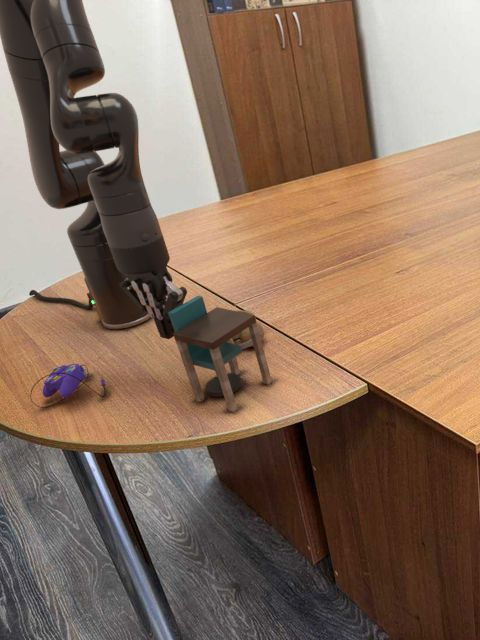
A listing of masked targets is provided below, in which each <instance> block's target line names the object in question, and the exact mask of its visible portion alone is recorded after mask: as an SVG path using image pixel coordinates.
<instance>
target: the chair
mask: <svg viewBox="0 0 480 640" xmlns="http://www.w3.org/2000/svg"><path fill="white" fill-rule="evenodd" d="M206 313H208V311H207V308H206V304H205V300H204V297H203V296H202V295H196V296H195V297H192V298H191V299H189V300H187V301H186V302H183V304H182V305H180V306H179V307H177V308H175V309H173V310H172V311H170V312H168V314H169V317H170V320H171V323H172V325H173V328H174V331H175V332H176V331H178V330H180V329H181V328H183V327H185V326H186V325H188V324H190V323H191V322H193V321H195V320H196V319H198V318H200V317H201V316H203V315H205V314H206ZM186 344H187V347H188V350H189V353H190V356H191V359H192V362H193V365H194V366H197V367H201V368H204V369H207V370H211V371H214V372H215V375H216V376H214V377H213V378H211V379H209V380H208V381H207V382H206V384H205V391H206V393H207V395H209V396H210V397H214V398H220V397H224V394H223V391H222V388H221V385H220V382H219V379H218V375H217V372H216V369H215V366H214V363H213V360H212V356H211V353H210V350H209V349H208V348H204V347H200V346H196V345H193V344H189V343H186ZM219 349H220V353H221V356H222V359H223V363H224V365H226V363H228V361H230V360H231V359H233V358H234V357H235V356H236V357H237V356H238V355H240V354H242V353H243V349H242V348H241V345H237V344H233V343H229V342H225V343H224V344H222V345H221V346H219ZM227 376H228V379H229V382H230V385H231V389H232V392H233V394H234V393H235V392H237V391H239V389H240V388H241V387H242V385H243V381H242V378H241V376H240V375H236V374H232V373H227Z"/></svg>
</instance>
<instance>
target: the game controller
mask: <svg viewBox="0 0 480 640" xmlns="http://www.w3.org/2000/svg"><path fill="white" fill-rule="evenodd" d="M84 367H85V368H84ZM50 370H51V372H50V374H48V375H45V376H43V377H42V378H40V379H39V380H37V381H36V383H35V384H34V385H33V386H32V388H31V390H30V400H31V403H32V404H33V405H35V406H36V407H38V408H43V409H45V408H50V407H52V406H55V405H57V404H59V403H60V402H62V401H64V400H65V399H66V398H69V397H71V396H72V395H73V394H74V393H75V392H76V391H77V390H78V389H79V388H80V387H82V386H83V385H85V386H86V387H88V388H89V389H90V390H92V392H94V393H95V394H96V395H97V396H99V397H101V398H105V396H106V394H104V395H100V394H99V393H98V392H97V391H95V390H94V389H93V388H92V387H90V385H88V384H87V383H86V382H87V381H88V379H89V369H88V367H87V366H86V365H85V364H80V365H79V363H71V364H67V365H66V364H64V365H60V366H59V367H58V365H54V366H52V367H51V369H50ZM46 377H47V378H46ZM44 378H46V379H45V380H44V381H43V384H44V385H43V387H42V396H43V397H44V398H50V397H52V396H54V395H55V394H56V393H57V392H58V391H59V395H60V397H61V398H62V399H61V400H59V401H57V402H55V403H53V404H51V405H48V406H40V405H37V404H35V402H34V401H33V399H32V392H33V390H34V388H35V387H36V385H37V384H38V383H39V382H40V381H41V380H43V379H44ZM100 383H101V387H103V392H104V393H106V387H105V386H106V382H105V378H104V377H103V376H101V377H100Z"/></svg>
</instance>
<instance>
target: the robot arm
mask: <svg viewBox="0 0 480 640" xmlns="http://www.w3.org/2000/svg"><path fill="white" fill-rule="evenodd" d="M87 15H88V14H87V12H86V9H85V5H84V1H83V0H0V42H1V46H2V50H3V55H4V57H5V62H6V64H7V69H8V72H9V75H10V78H11V81H12V85H13V88H14V92H15V95H16V98H17V102H18V105H19V110H20V114H21V118H22V122H23V127H24V132H25V138H26V144H27V149H28V151H27V152H28V157H29V162H30V167H31V172H32V177H33V181H34V183H35V186H36V189H37V191H38V193H39V195H40V196H41V198H42V200H43V201H44V202H45V203H46V204H47V205H48V206H49V207H50V208H52V209H55V210H64V209H70V208H74V207H78V206H80V205H83V204H87V205H86V207H85V209H84V211H83V212H82V213H81V214H80V215H79V216H78V217H77V218H76V219H75V220H73V222H71V223H70V224H69V225H68V227H67V229H66V234H67V237H68V239H69V242H70V244H71V246H72V249H73V251H74V254H75V256H76V259H77V261H78V263H79V266H80V269H81V271H82V273H83V277H84V278H83V280H84V283H85V285H86V288H87V290H88V292H87V293H86V296H87V298H88V304H84V303H82V302H80V301H78V300H75V299H72V298H68V297H67V298H66V297H51V296H45V295H43V294H40V293H39V292H38V291H37V290H35V289H31V290H29V294H28V295H29V297H32V296H35V297H36V298H37V299H39V300H41V301H45V302H54V303H55V302H56V303H57V302H58V303H67V304H72V305H75V306H76V307H79V308H81V309H84V310H91V309H93V308H95V310H96V312H97V315H98V317H99V320H100V321H101V323H102V325H103V327H105V328H106V329H109V330H110V329H111V330H122V329H128V328H132V327H135V326H138V325H141V324H142V323H144V322H147V321H148V320H149V319H153V321H154V324H155V326H156V329H157V332H158V334H159V337H160V338H162V339H166V340H171V339H172V338H174V335H173V333H175V331H174V328H173V325H172V323H171V320H170V317H169V314H168V312H170V311H172V310H173V309H175V308H177V307H179V306H180V305H182V304H184V303H185V299H186V297H187V294H188V290H187V289H186V287H185V286H180V287H178V286H177V285H176V284H175V283H173V278H172V275H171V274H170V272H169V271H168V267H167V266H168V264H169V262H170V259H171V257H170V253H169V250H168V246H167V244H166V240H165V237H164V235H163V232H162V229H161V225H160V222H159V219H158V216H157V214H156V212H155V210H154V208H153V206H152V203H151V201H150V197H149V194H148V192H147V188H146V184H145V181H144V178H143V175H142V169H141V164H140V154H139V153H140V151H139V150H140V149H139V140H140V139H139V138H140V137H139V130H140V129H139V119H138V114H137V111H136V109H135V107H134V106H133V104H132V103H131V102H130V100H129V99H128V98H126V97H125V96H124V95H122V94H121V93H118V92H107V93H106V92H105V93H100V94H92V95H84V96H78V97H75V96H76V95H77V94H78V93H79V92H80V91H83V90H84V89H87V88H90V87H92V86H94V85H96V84H98V83H100V82H101V81H102V80H103V79H104V77H105V73H106V69H105V64H104V62H103V58H102V56H101V53H100V50H99V47H98V45H97V42H96V39H95V35H94V32H93V30H92V28H91V24H90V22H89V18H88V16H87ZM60 147H62V148H63V149H64V150H60ZM117 148H118V153H117V155H116V157H115V158H114V159H113V160H112V161H110V162H108V163H106V164H105V162H104V161H103V159H102V157H101V156H100V154H98V152H100V151H106V150H112V149H117Z"/></svg>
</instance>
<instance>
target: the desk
mask: <svg viewBox="0 0 480 640" xmlns="http://www.w3.org/2000/svg"><path fill="white" fill-rule="evenodd" d="M237 311H238V310H232V309H228V308H227V309H226V308H222V307H219V306H216V307H215V308H213V309H212V310H210V311H207V313H206V314H205V315H203V316H201V317H200V318H198V319H196V320H195V321H193V322H191V323H190V324H188V325H186V326H185V327H183V328H181V329H180V330H178V331H176V332H175V333H173V335H174V337H173V338H174V340H175V343H176V347H177V350H178V352H179V355H180V358H181V362H182V363H183V366H184V369H185V373H186V375H187V379H188V381H189V384H190V387H191V389H192V393H193V395H194V398H195V401H196V402H198V403H202V402H203V401H204V400H205V394H204V392H203V389H202V385H201V384H200V379H199V377H198V374H197V372H196V368H195V365H193V362H192V359H191V356H190V353H189V350H188V347H187V344H186V343H189V344H193V345H196V346H200V347H204V348H208V349H209V350H210V353H211V356H212V360H213V363H214V366H215V369H216V372H217V375H218V379H219V382H220V385H221V388H222V391H223V394H224V396H223V397H224V400H225V404H226V407H227V410H228V411H229V412H232V413H234V412H235V411H237V410H238V405H237V401H236V399H235V395H234V393H233V392H232V389H231V385H230V382H229V379H228V376H227V374H228V373H227V370H226V366H225V364H224V363H223V359H222V356H221V353H220V349H219V346H221V345H222V344H224V343H225V342H229V343H231V338H233V337H234V336H236V335H237V334H239V333H240V332H242V331H243V330H245V329H246V328H249V331H250V335H251V339H252V342H253V349H254V353H255V356H256V357H255V358H256V360H257V365H258V368H259V371H260V375H261V378H262V382H263V384H264V385H268V386H269V385H270V384H271V383H273V379H272V376H271V372H270V368H269V365H268V361H267V357H266V353H265V349H264V346H263V342H262V341H263V340H262V341H261V338H260V334H259V330H258V326H257V322H256V321H257V318H256V319H255V317H256V315H255V314H254V315H251V314H246V313H242V312H237ZM227 363H228V366H229V369H230V374H236V375H238V376H240V374H241V371H240V366H239V363H238V360H237V356H235V357H234V358H233V359H231V360H230V361H228V362H227ZM216 372H215V373H216ZM217 375H216V376H217Z"/></svg>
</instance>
